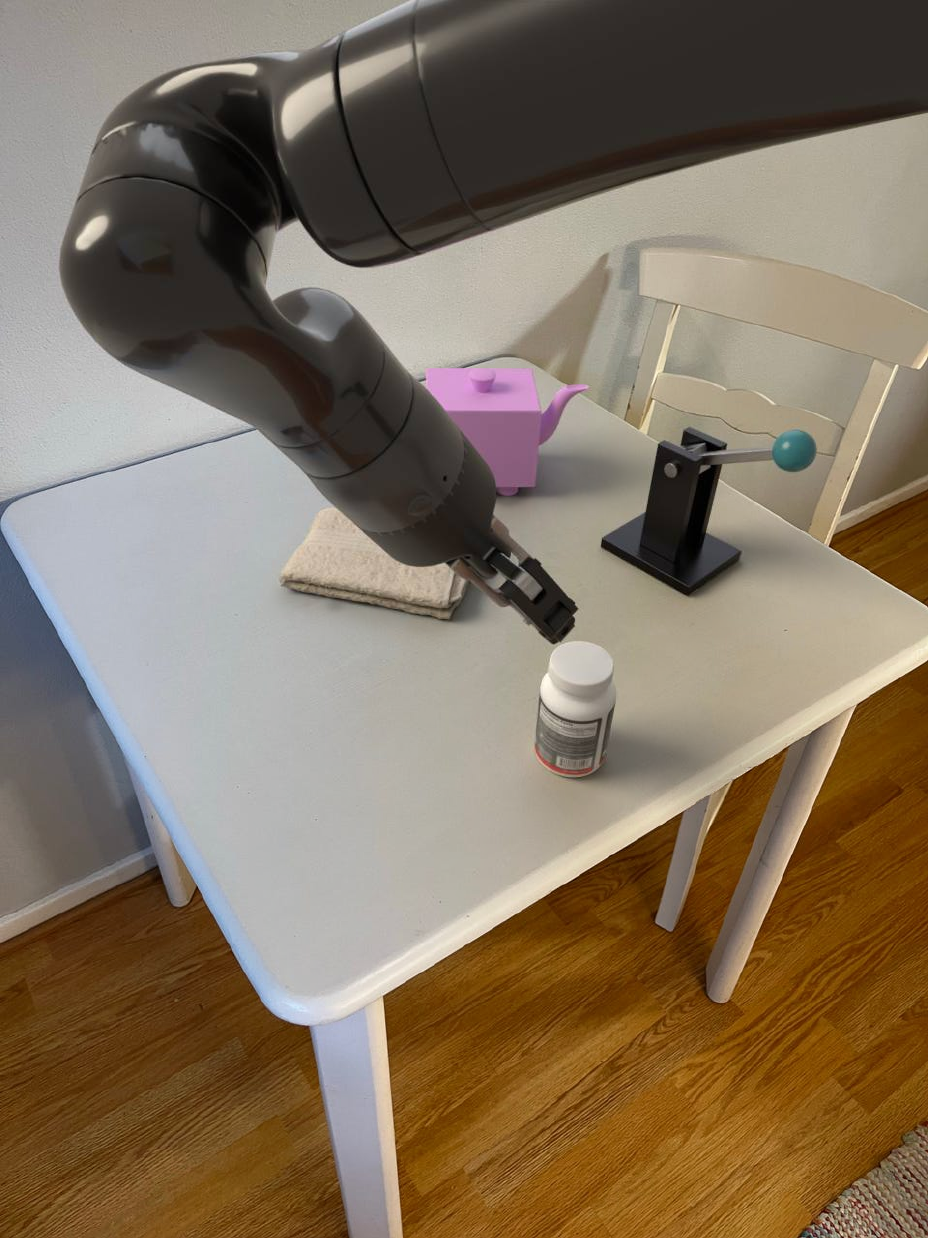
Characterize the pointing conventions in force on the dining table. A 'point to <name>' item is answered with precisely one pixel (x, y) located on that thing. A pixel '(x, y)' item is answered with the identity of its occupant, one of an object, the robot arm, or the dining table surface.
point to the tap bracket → (677, 520)
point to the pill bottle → (575, 709)
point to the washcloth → (367, 571)
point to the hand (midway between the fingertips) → (519, 596)
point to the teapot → (500, 417)
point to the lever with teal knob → (764, 452)
